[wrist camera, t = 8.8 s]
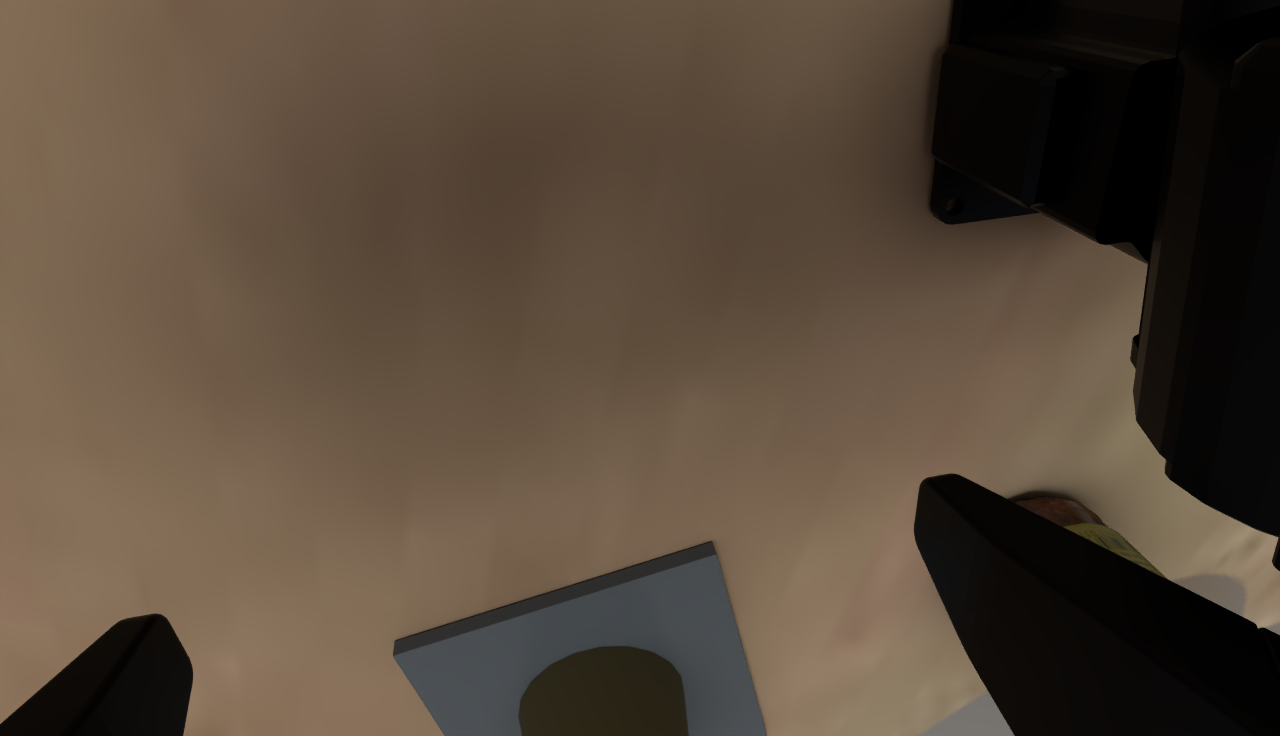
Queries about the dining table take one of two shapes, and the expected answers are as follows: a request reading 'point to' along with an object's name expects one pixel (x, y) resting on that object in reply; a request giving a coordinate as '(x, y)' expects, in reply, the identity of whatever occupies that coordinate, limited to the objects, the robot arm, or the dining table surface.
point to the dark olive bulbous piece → (606, 696)
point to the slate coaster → (591, 647)
